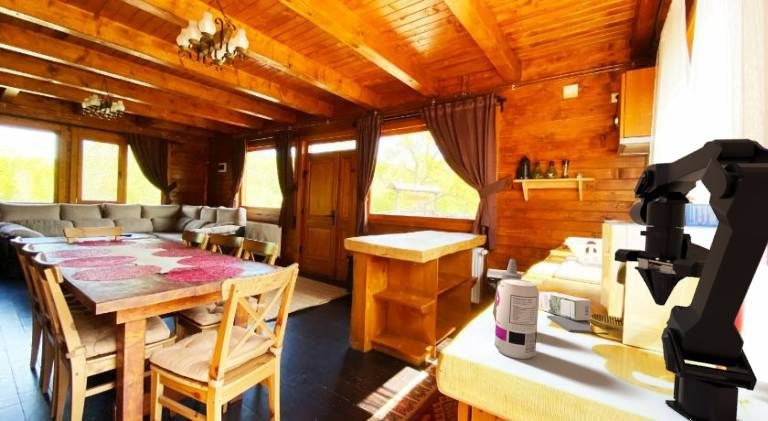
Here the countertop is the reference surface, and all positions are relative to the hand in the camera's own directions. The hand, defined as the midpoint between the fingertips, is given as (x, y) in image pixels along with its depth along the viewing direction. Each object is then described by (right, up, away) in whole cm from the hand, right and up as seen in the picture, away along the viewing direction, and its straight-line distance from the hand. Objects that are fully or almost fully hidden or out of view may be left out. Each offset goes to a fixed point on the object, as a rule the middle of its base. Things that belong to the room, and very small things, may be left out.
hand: (660, 305), depth 64 cm
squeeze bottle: (-23, -12, +19) cm, 32 cm away
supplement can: (-27, -12, +5) cm, 30 cm away
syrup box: (+1, -9, +26) cm, 27 cm away
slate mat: (-2, -13, +24) cm, 28 cm away
